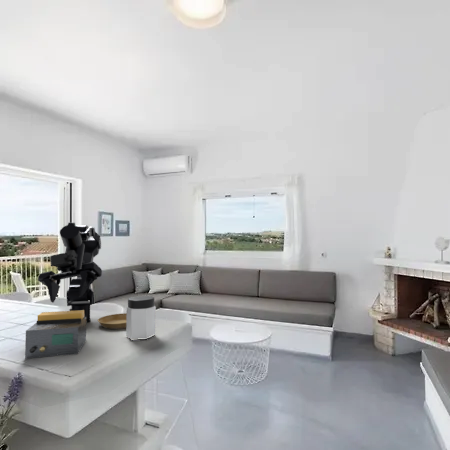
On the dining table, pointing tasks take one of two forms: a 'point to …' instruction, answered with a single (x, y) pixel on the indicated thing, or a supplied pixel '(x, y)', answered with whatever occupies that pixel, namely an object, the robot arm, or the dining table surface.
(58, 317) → the key
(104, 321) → the plant saucer
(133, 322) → the jar
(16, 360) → the dining table surface
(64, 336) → the box
